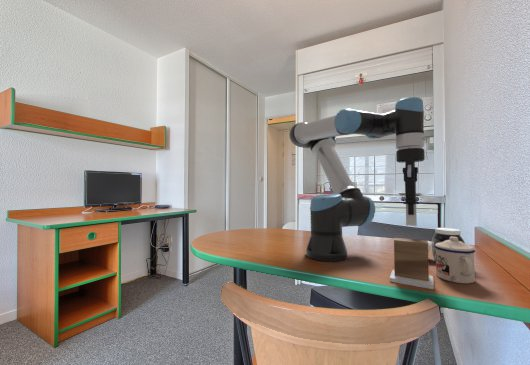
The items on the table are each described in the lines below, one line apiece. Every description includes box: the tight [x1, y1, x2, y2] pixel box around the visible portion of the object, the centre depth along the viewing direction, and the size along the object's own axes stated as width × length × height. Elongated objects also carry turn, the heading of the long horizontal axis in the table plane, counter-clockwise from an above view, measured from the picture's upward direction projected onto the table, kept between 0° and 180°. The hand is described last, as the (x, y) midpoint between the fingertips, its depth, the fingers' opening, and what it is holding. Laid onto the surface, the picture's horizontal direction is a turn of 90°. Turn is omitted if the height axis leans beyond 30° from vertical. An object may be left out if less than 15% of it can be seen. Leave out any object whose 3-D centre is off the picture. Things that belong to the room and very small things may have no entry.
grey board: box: [389, 269, 435, 290], centre depth 68 cm, size 10×8×1 cm
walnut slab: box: [393, 237, 430, 281], centre depth 68 cm, size 4×8×10 cm, turn 58°
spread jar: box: [427, 227, 466, 263], centre depth 84 cm, size 12×11×12 cm
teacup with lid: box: [435, 237, 476, 285], centre depth 68 cm, size 12×9×12 cm
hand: (411, 225), depth 75 cm, fingers closed
